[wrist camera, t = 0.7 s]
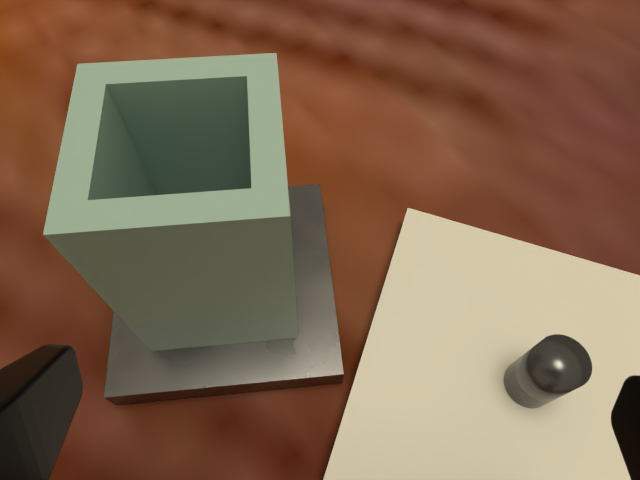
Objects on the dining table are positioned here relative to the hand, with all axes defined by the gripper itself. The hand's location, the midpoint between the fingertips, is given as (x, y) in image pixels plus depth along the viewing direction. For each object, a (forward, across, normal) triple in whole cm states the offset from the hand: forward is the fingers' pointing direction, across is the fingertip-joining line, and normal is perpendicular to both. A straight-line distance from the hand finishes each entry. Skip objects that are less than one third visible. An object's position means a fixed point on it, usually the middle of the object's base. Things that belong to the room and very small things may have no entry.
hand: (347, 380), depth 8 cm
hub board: (+11, -8, +10) cm, 17 cm away
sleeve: (+14, +5, +7) cm, 16 cm away
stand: (+14, +5, +8) cm, 17 cm away
